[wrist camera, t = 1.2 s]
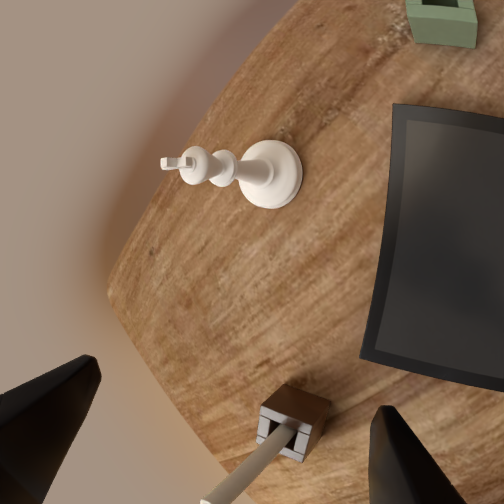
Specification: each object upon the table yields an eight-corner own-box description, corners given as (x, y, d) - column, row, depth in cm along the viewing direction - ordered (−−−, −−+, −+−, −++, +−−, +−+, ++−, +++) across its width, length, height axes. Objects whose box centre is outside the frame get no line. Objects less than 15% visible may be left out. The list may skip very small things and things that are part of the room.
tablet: (506, 384, 15) (508, 394, 14) (363, 350, 21) (358, 359, 19) (554, 136, 11) (561, 132, 10) (395, 108, 17) (392, 102, 16)
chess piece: (303, 208, 22) (204, 213, 13) (243, 209, 24) (134, 215, 16) (301, 136, 21) (202, 100, 13) (241, 144, 24) (133, 123, 15)
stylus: (308, 420, 24) (218, 518, 14) (293, 415, 24) (199, 507, 14) (311, 408, 23) (219, 508, 13) (296, 402, 24) (199, 496, 14)
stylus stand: (320, 438, 23) (302, 463, 20) (277, 420, 25) (255, 442, 22) (331, 400, 22) (312, 425, 19) (283, 383, 24) (260, 404, 22)
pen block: (475, 49, 13) (478, 23, 10) (414, 43, 15) (407, 16, 13) (466, 0, 12) (465, -29, 9) (409, -5, 15) (400, -33, 12)
